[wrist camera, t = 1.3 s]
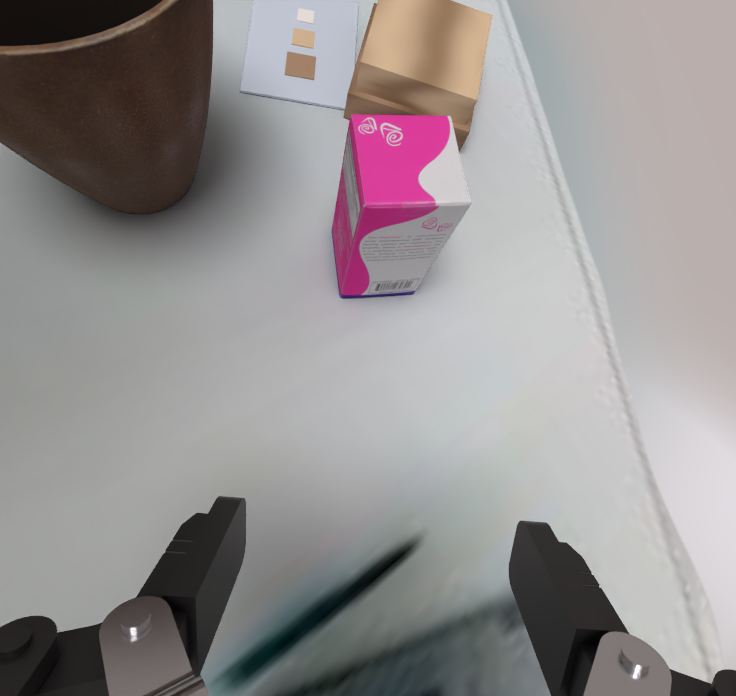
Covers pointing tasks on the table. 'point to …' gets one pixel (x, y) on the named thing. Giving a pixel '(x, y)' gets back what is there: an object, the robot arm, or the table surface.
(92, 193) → the plant pot
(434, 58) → the base block
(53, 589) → the table surface
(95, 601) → the table surface
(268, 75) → the page
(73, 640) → the robot arm
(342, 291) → the supplement box
